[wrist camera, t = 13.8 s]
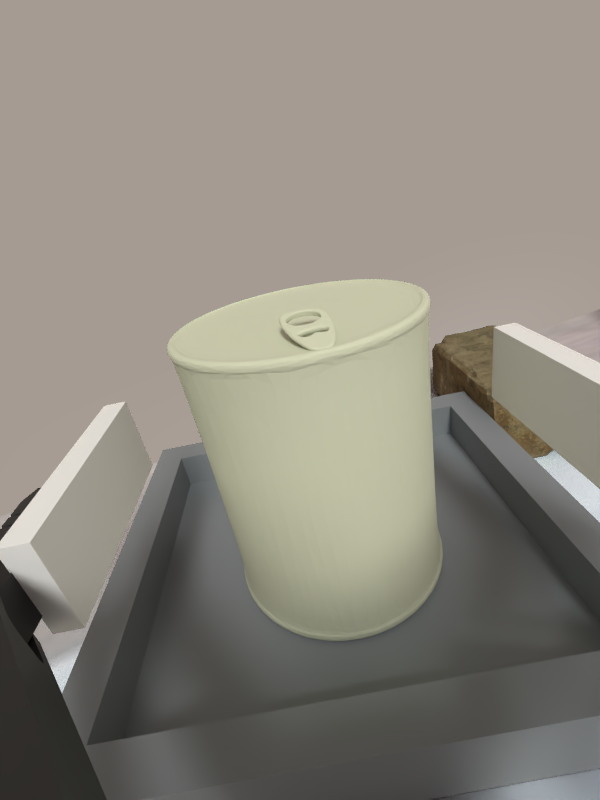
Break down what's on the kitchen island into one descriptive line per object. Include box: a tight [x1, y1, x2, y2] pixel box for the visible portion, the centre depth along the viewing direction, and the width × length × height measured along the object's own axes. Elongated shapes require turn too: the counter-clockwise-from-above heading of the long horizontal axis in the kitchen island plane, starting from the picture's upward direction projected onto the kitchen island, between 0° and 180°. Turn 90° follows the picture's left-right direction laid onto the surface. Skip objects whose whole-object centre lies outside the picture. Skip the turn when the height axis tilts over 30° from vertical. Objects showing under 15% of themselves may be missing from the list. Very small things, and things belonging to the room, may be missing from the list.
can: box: [167, 279, 443, 641], centre depth 17 cm, size 9×9×12 cm
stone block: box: [432, 326, 553, 458], centre depth 28 cm, size 6×12×5 cm, turn 4°
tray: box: [62, 391, 600, 800], centre depth 19 cm, size 20×18×3 cm
